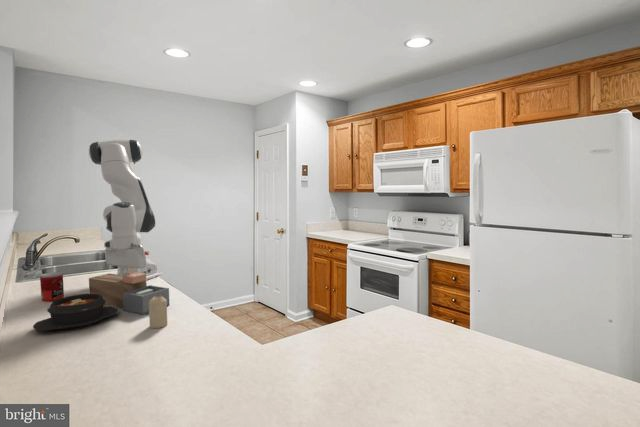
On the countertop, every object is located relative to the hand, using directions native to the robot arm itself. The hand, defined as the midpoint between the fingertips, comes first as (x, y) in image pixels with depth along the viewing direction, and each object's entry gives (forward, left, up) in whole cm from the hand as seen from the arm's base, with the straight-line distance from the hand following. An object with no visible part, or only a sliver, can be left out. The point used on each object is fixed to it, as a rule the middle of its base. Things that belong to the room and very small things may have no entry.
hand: (126, 277), depth 147 cm
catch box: (0, +11, -11) cm, 16 cm away
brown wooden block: (0, -6, -11) cm, 13 cm away
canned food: (+9, -36, -11) cm, 38 cm away
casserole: (+21, +2, -11) cm, 24 cm away
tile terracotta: (0, +4, -1) cm, 5 cm away
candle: (+11, +30, -11) cm, 34 cm away
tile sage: (0, +9, -8) cm, 12 cm away
